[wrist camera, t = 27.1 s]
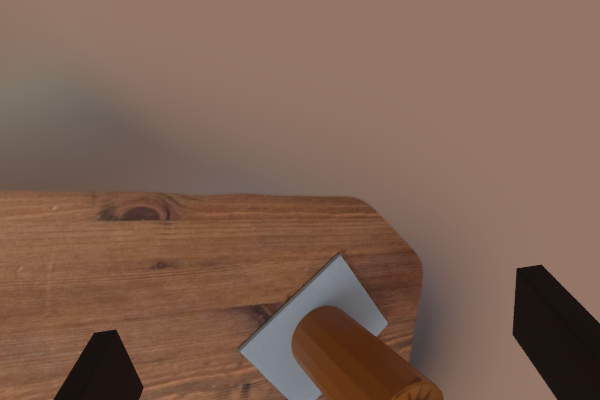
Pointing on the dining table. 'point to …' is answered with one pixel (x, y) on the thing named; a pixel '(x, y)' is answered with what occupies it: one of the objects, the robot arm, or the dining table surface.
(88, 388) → the robot arm
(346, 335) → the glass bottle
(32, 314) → the dining table surface
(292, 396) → the mat
